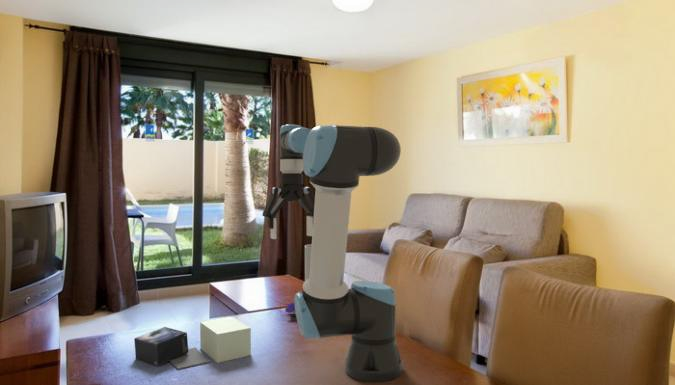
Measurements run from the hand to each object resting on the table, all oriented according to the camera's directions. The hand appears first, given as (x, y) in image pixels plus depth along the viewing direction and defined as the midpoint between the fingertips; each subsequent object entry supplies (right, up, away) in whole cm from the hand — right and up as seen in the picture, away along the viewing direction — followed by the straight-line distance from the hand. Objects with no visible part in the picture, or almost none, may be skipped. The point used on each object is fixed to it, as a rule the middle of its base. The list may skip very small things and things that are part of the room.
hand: (292, 237), depth 160 cm
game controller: (0, -32, +21) cm, 38 cm away
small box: (-32, -28, -16) cm, 46 cm away
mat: (-28, -32, -22) cm, 48 cm away
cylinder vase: (+9, -31, +29) cm, 43 cm away
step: (-18, -32, -17) cm, 41 cm away
